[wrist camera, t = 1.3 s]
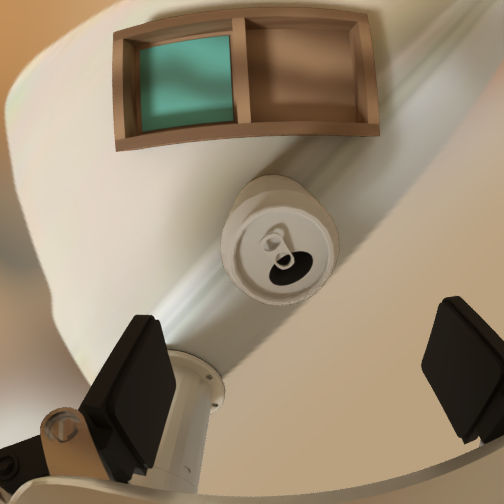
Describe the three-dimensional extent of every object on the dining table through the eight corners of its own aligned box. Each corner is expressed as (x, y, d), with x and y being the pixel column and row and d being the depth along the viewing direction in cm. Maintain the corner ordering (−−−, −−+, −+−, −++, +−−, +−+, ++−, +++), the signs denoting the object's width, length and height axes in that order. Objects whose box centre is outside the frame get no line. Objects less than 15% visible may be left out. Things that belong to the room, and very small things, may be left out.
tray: (363, 136, 25) (379, 136, 22) (133, 150, 26) (115, 151, 22) (353, 26, 21) (366, 11, 17) (130, 41, 22) (113, 29, 18)
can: (262, 264, 30) (264, 335, 19) (217, 203, 28) (189, 244, 17) (326, 223, 28) (367, 274, 17) (283, 158, 26) (302, 166, 15)
